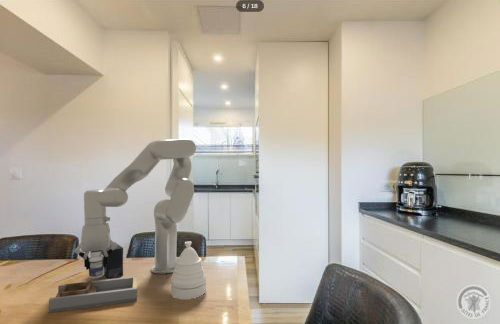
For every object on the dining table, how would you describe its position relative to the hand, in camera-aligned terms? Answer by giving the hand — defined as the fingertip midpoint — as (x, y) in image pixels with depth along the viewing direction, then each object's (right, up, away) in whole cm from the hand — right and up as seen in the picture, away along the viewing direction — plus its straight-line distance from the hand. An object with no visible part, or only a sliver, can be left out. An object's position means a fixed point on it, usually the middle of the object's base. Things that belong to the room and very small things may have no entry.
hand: (96, 266), depth 116 cm
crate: (0, -6, -14) cm, 15 cm away
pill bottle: (0, -4, 0) cm, 4 cm away
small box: (-1, -8, +13) cm, 15 cm away
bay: (+7, -7, -12) cm, 15 cm away
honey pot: (+37, -7, -6) cm, 38 cm away
